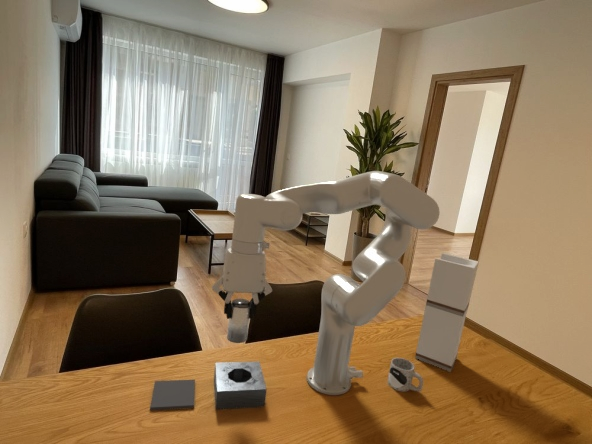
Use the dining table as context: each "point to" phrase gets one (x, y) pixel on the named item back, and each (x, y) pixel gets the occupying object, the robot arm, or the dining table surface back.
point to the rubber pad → (173, 395)
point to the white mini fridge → (446, 310)
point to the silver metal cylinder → (239, 321)
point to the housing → (239, 385)
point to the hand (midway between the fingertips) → (239, 315)
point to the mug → (403, 375)
